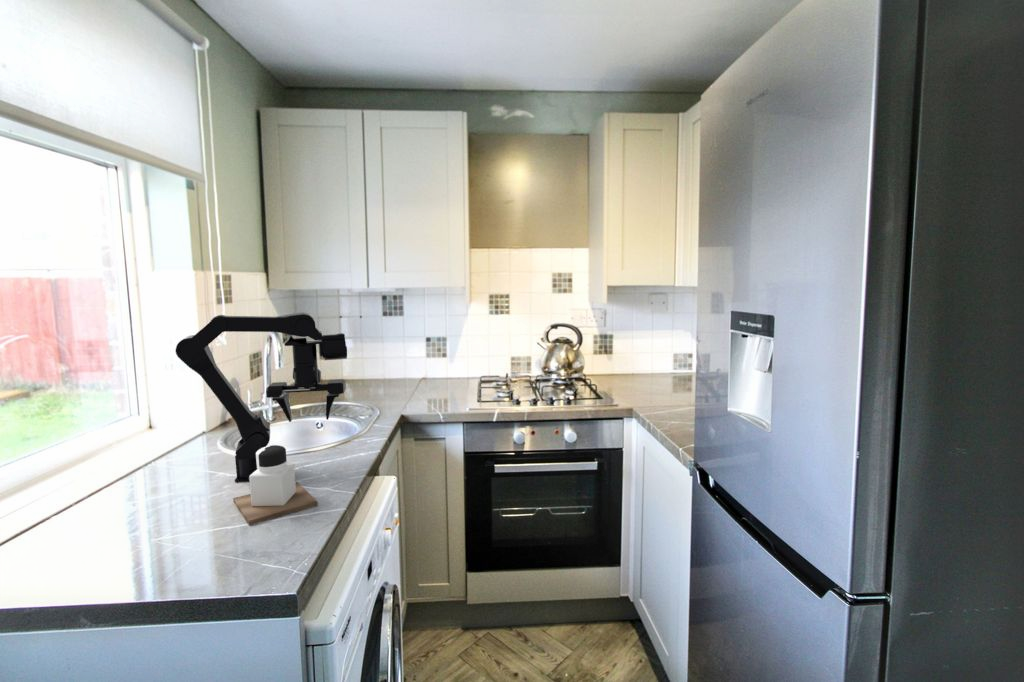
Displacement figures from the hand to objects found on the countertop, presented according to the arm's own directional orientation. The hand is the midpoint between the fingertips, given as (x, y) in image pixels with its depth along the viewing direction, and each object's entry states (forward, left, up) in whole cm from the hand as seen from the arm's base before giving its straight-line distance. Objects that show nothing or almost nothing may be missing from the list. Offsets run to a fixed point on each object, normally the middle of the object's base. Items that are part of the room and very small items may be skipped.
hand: (309, 420), depth 136 cm
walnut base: (-4, -21, -13) cm, 25 cm away
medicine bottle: (-5, -21, -12) cm, 25 cm away
